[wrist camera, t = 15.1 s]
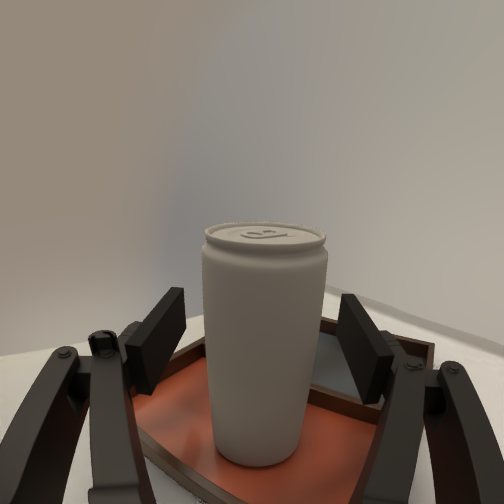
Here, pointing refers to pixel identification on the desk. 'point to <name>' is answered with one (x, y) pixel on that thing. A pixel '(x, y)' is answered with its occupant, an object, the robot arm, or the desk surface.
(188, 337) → the desk surface
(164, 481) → the desk surface
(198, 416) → the sorting tray
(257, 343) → the beverage can
